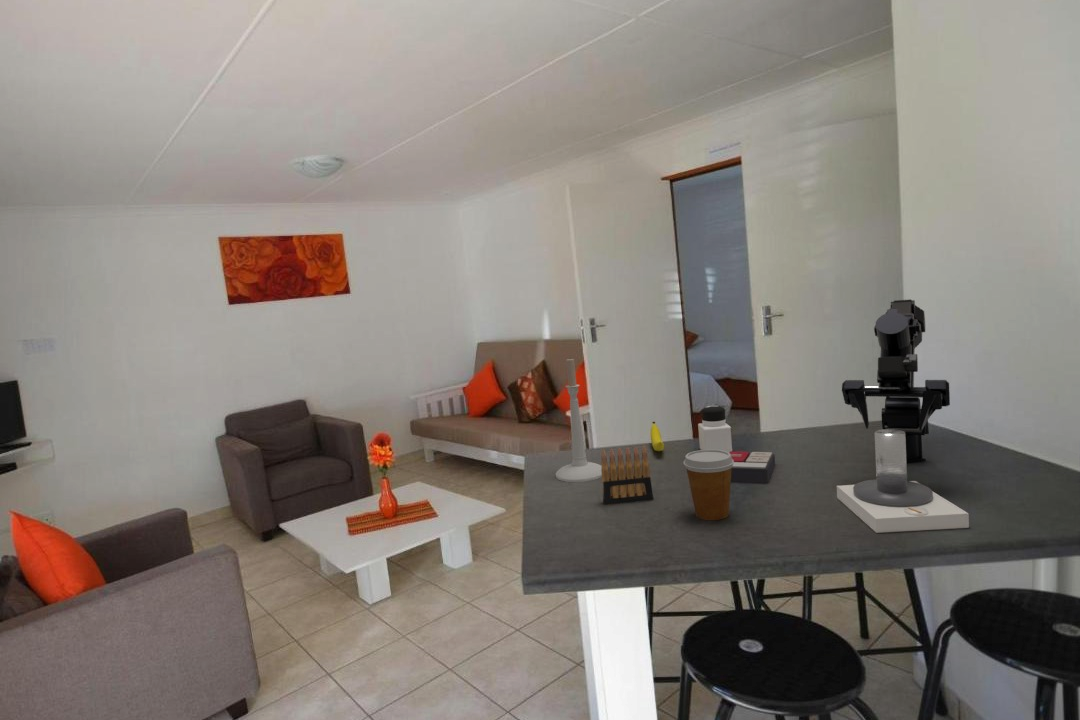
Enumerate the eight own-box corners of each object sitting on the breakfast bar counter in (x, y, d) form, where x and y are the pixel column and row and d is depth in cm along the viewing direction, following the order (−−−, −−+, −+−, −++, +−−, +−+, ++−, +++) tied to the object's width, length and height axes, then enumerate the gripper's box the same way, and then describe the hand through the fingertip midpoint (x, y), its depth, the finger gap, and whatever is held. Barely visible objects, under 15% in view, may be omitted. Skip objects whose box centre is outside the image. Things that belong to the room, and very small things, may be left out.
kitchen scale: (915, 493, 124) (915, 475, 123) (968, 527, 106) (968, 507, 106) (837, 497, 125) (836, 481, 125) (876, 532, 108) (875, 513, 107)
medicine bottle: (733, 453, 164) (730, 408, 163) (705, 455, 164) (702, 410, 163) (725, 446, 171) (722, 403, 170) (699, 448, 171) (696, 405, 170)
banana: (656, 460, 164) (654, 437, 163) (650, 443, 183) (648, 421, 182) (667, 460, 164) (665, 436, 163) (660, 442, 182) (658, 421, 182)
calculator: (774, 450, 151) (767, 465, 137) (775, 468, 151) (768, 485, 138) (727, 449, 156) (716, 464, 142) (728, 466, 156) (717, 482, 143)
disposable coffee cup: (683, 508, 128) (678, 451, 127) (729, 504, 128) (725, 447, 126) (693, 525, 119) (688, 464, 117) (743, 521, 118) (739, 459, 117)
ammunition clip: (604, 504, 135) (599, 450, 133) (603, 502, 137) (598, 448, 135) (653, 499, 135) (649, 445, 134) (651, 497, 137) (647, 443, 135)
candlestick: (594, 464, 167) (584, 352, 163) (614, 476, 154) (603, 356, 151) (549, 472, 163) (537, 358, 160) (566, 485, 151) (554, 362, 147)
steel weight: (888, 483, 121) (886, 427, 119) (913, 489, 116) (911, 432, 115) (871, 489, 119) (868, 432, 117) (895, 496, 114) (893, 437, 113)
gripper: (840, 342, 130) (834, 405, 122) (947, 338, 120) (948, 407, 112) (848, 373, 137) (842, 434, 130) (949, 372, 127) (950, 438, 119)
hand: (893, 428), depth 122 cm, fingers open, 9 cm apart
